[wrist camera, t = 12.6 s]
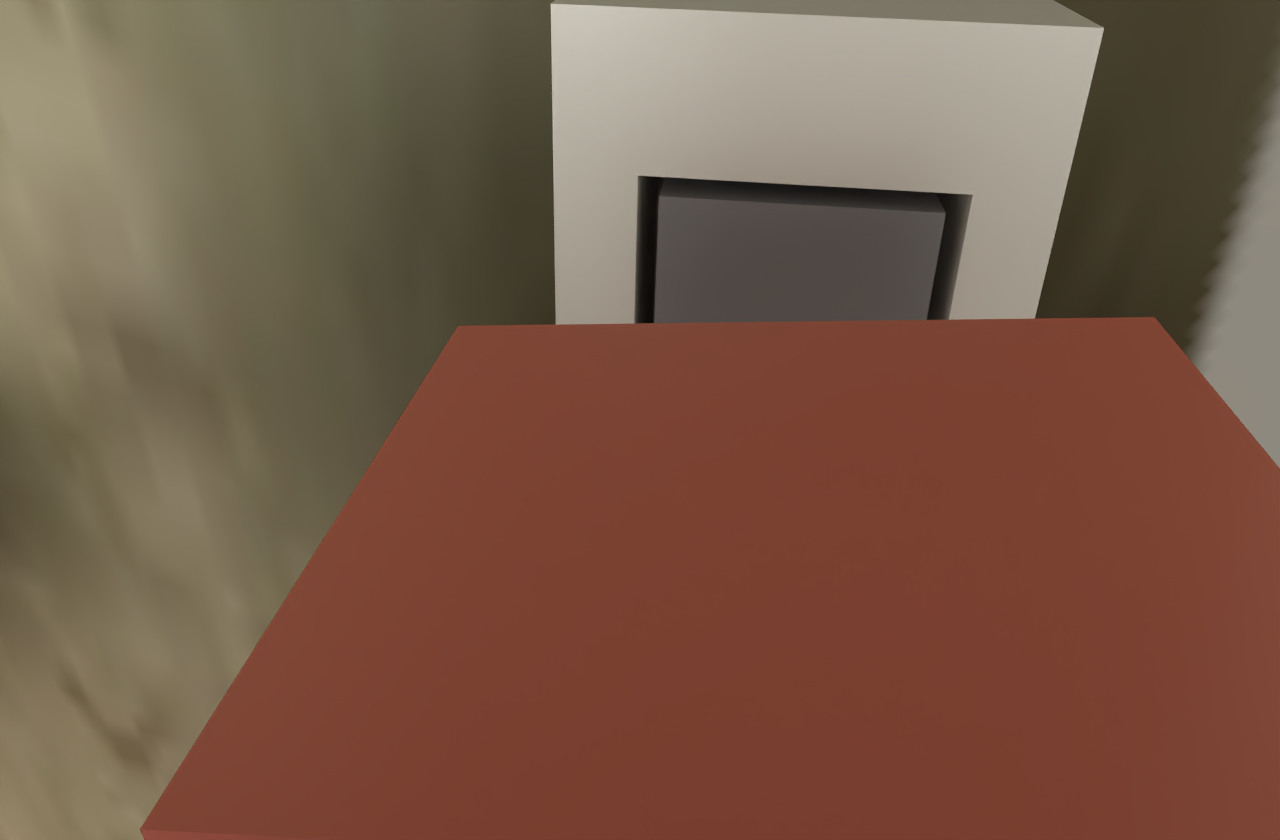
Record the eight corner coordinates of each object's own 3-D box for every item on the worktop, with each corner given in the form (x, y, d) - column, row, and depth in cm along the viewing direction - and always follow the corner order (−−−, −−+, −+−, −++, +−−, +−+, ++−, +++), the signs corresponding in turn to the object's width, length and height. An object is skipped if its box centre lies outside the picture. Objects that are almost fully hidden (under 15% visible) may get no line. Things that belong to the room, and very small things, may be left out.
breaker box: (923, 494, 22) (958, 638, 18) (596, 468, 22) (560, 602, 18) (1024, -16, 17) (1104, 28, 13) (599, -34, 17) (550, 4, 13)
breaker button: (874, 420, 19) (892, 510, 17) (663, 404, 20) (647, 490, 17) (917, 155, 17) (946, 213, 14) (675, 142, 17) (659, 196, 14)
